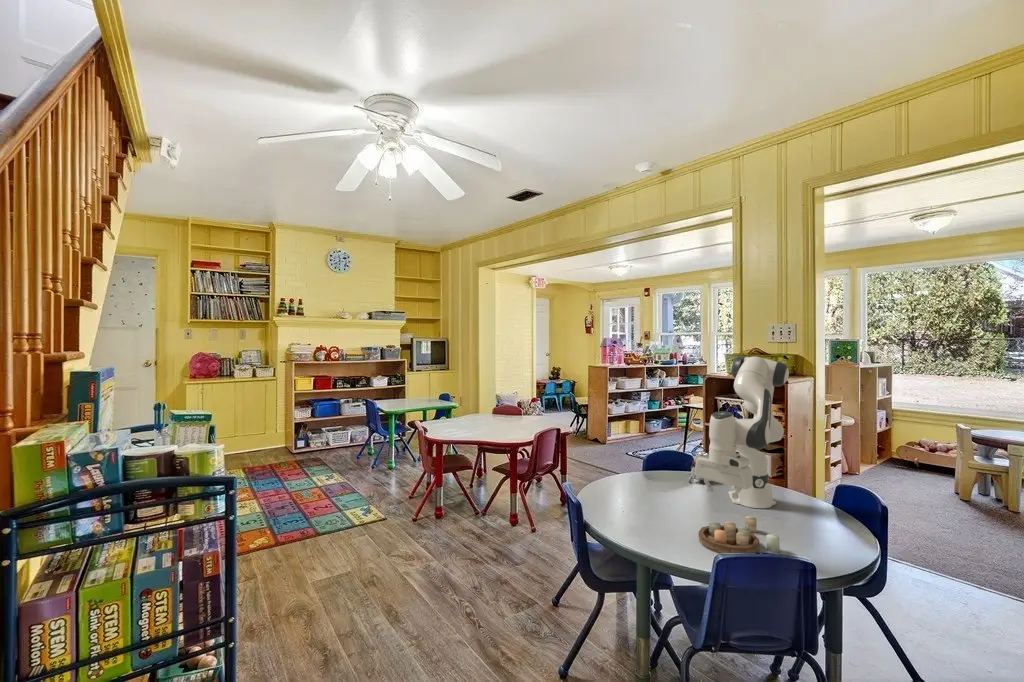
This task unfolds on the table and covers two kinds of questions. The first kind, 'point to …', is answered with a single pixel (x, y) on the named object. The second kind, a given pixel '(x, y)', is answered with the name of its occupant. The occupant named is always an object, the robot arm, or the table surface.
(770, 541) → the sage green egg
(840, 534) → the table surface
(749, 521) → the tan egg
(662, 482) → the table surface
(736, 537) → the groove tray
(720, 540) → the orange egg
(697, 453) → the robotic toy
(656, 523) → the table surface
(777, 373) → the robot arm
